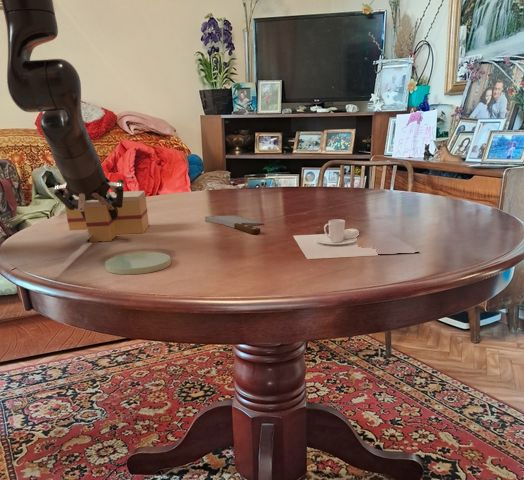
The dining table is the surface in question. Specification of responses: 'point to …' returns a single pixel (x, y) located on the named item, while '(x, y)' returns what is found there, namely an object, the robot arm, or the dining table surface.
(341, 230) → the teacup and saucer
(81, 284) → the dining table surface
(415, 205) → the dining table surface
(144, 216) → the cake
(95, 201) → the cake slice
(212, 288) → the dining table surface
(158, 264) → the plate
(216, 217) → the kitchen cleaver
